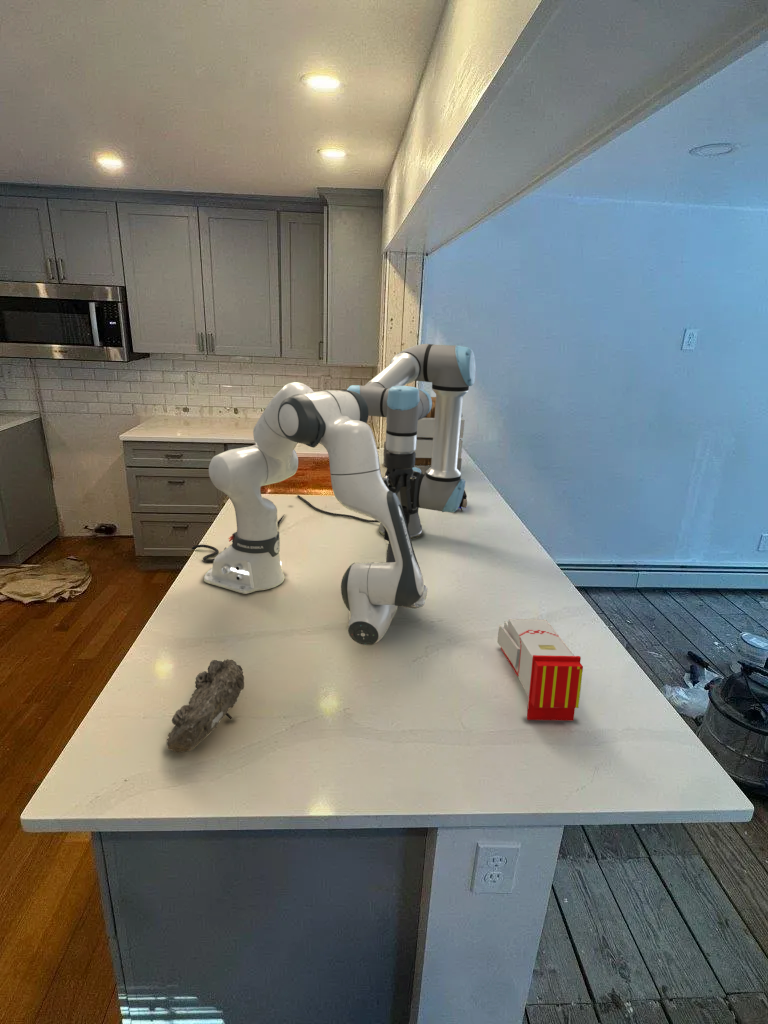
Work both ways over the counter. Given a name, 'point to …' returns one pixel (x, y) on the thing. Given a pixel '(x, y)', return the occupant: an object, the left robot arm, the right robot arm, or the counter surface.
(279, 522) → the feather
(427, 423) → the light boxy container
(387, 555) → the bottle
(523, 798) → the counter surface
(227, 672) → the fossil
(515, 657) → the toy
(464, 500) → the figurine character
